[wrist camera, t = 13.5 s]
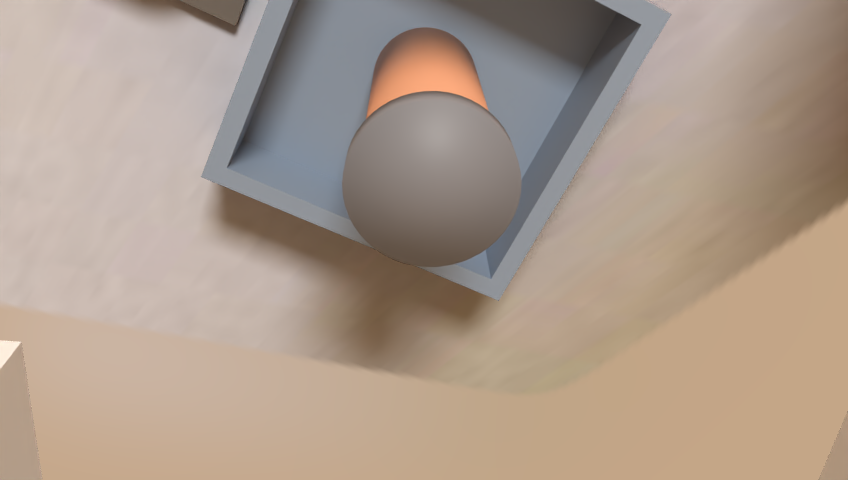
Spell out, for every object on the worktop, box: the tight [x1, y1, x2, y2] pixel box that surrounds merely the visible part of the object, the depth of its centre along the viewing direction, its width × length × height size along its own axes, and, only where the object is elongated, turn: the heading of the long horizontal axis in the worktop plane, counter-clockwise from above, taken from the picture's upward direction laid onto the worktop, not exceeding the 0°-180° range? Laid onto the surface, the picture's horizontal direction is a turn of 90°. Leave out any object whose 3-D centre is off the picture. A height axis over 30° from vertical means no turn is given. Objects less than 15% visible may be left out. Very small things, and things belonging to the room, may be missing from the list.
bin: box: [201, 0, 671, 301], centre depth 32 cm, size 14×14×4 cm
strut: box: [342, 27, 522, 267], centre depth 28 cm, size 5×5×12 cm
